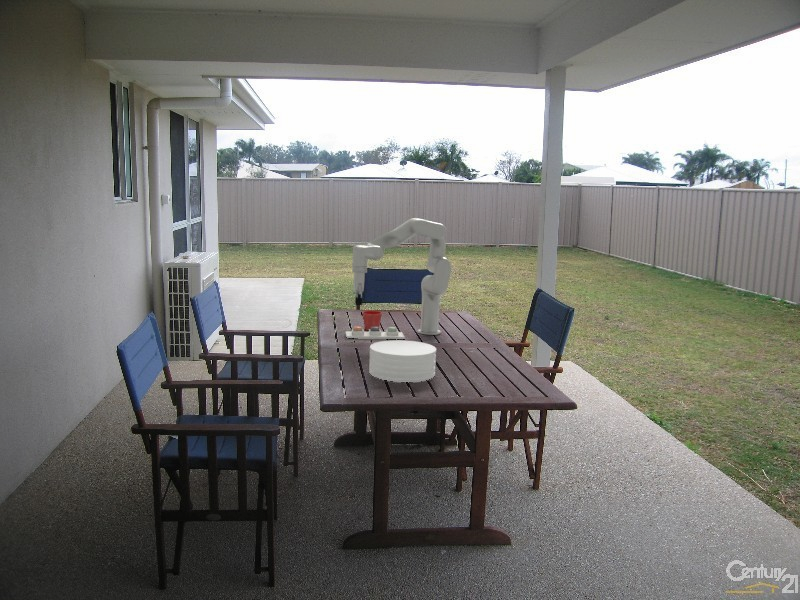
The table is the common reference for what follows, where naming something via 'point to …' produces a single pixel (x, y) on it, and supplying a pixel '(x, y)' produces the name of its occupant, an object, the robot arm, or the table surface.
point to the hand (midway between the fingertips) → (358, 304)
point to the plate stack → (402, 361)
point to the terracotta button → (357, 328)
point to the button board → (374, 334)
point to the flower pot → (371, 319)
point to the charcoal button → (374, 328)
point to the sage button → (391, 329)
